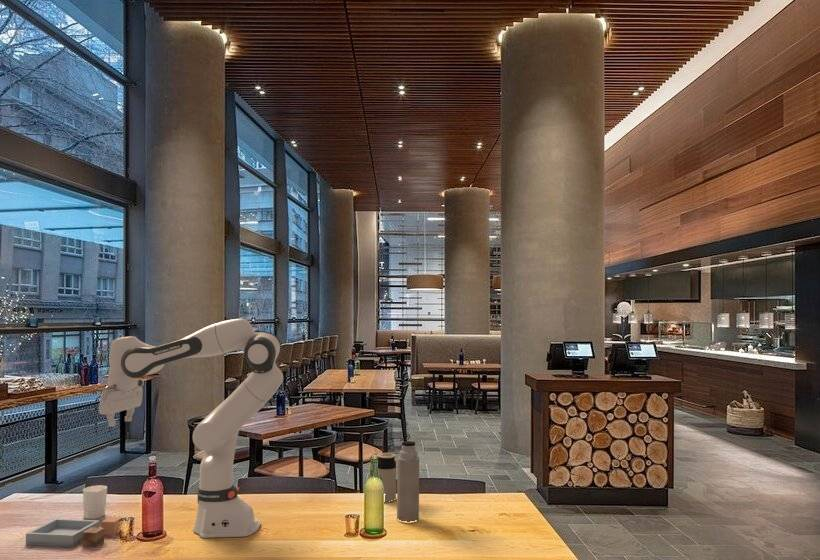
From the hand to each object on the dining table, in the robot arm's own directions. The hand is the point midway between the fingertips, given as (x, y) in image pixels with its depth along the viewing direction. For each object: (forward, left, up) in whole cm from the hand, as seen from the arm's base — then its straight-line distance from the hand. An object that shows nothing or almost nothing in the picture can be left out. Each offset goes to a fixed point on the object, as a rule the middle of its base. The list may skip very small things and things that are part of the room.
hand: (120, 423), depth 205 cm
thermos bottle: (-98, -23, -37) cm, 107 cm away
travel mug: (-87, -45, -37) cm, 104 cm away
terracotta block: (+1, +1, -37) cm, 37 cm away
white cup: (+17, -14, -37) cm, 43 cm away
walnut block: (+1, +11, -37) cm, 38 cm away
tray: (+14, +7, -36) cm, 40 cm away
